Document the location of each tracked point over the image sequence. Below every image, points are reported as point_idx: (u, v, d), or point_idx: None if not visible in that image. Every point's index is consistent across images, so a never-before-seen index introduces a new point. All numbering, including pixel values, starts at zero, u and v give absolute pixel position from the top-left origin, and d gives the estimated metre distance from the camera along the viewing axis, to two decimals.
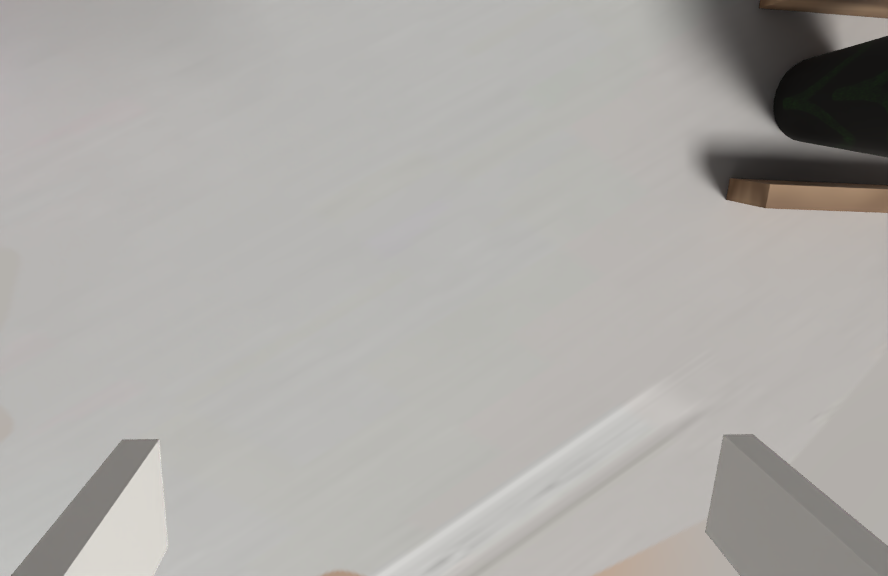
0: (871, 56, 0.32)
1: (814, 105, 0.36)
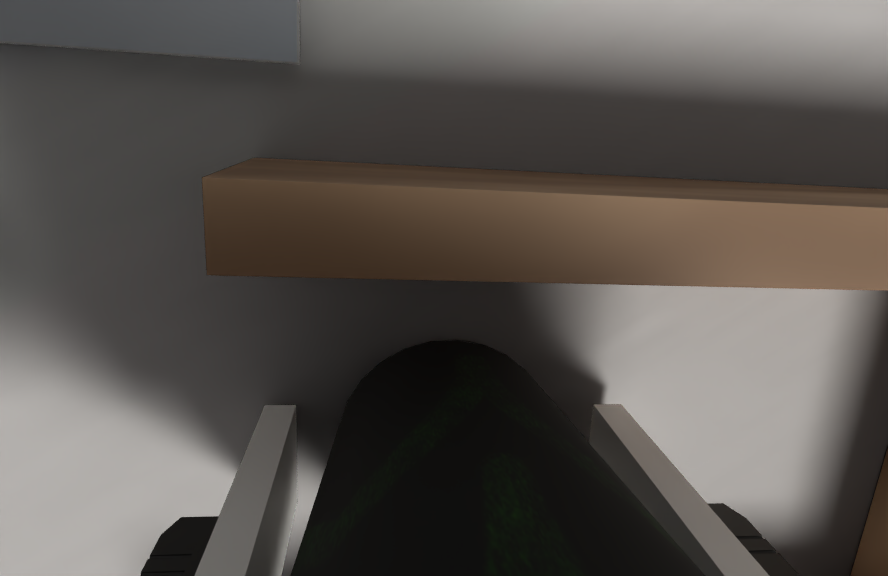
0: None
1: None
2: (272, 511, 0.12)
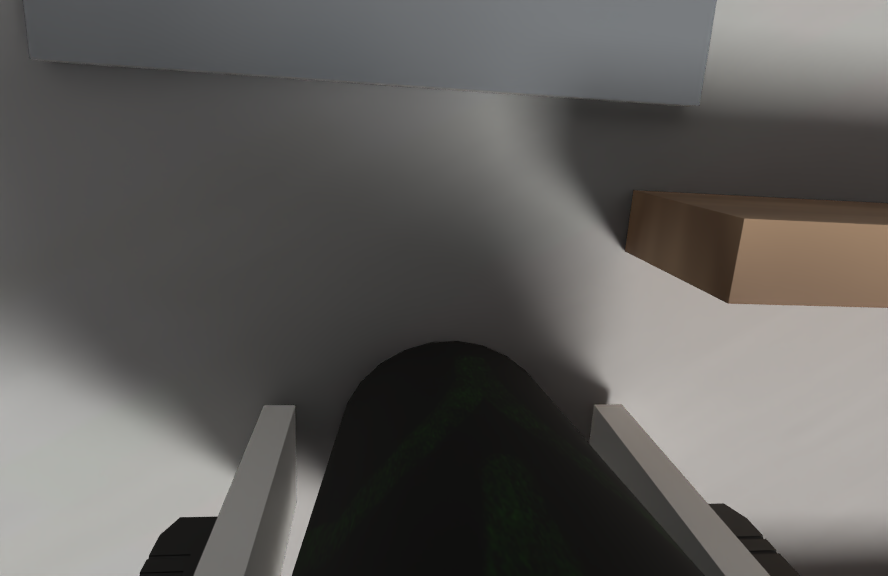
0: None
1: None
2: (271, 511, 0.12)
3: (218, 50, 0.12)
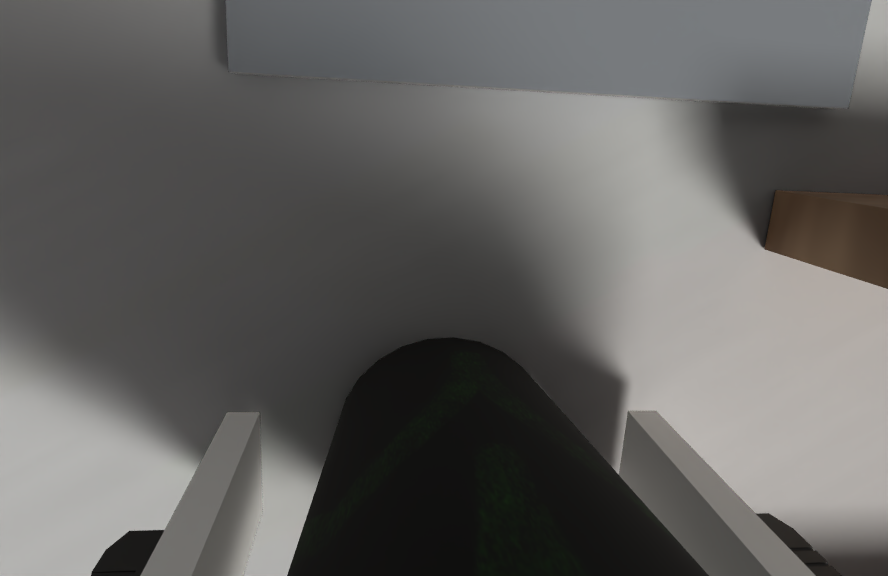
0: None
1: None
2: (225, 524, 0.11)
3: (402, 61, 0.13)
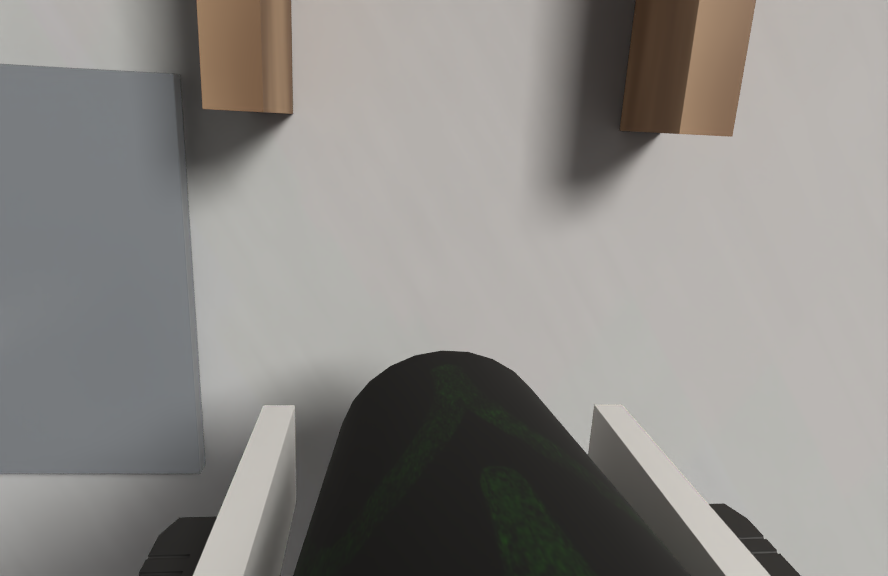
0: None
1: None
2: (271, 511, 0.11)
3: (182, 384, 0.21)
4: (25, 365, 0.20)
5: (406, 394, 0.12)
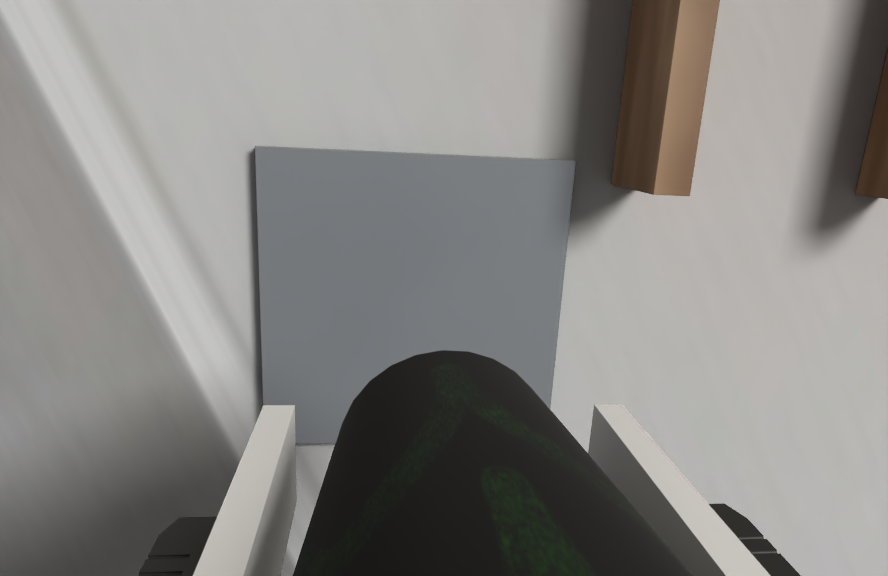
0: None
1: None
2: (271, 512, 0.11)
3: (545, 375, 0.29)
4: None
5: (406, 393, 0.12)
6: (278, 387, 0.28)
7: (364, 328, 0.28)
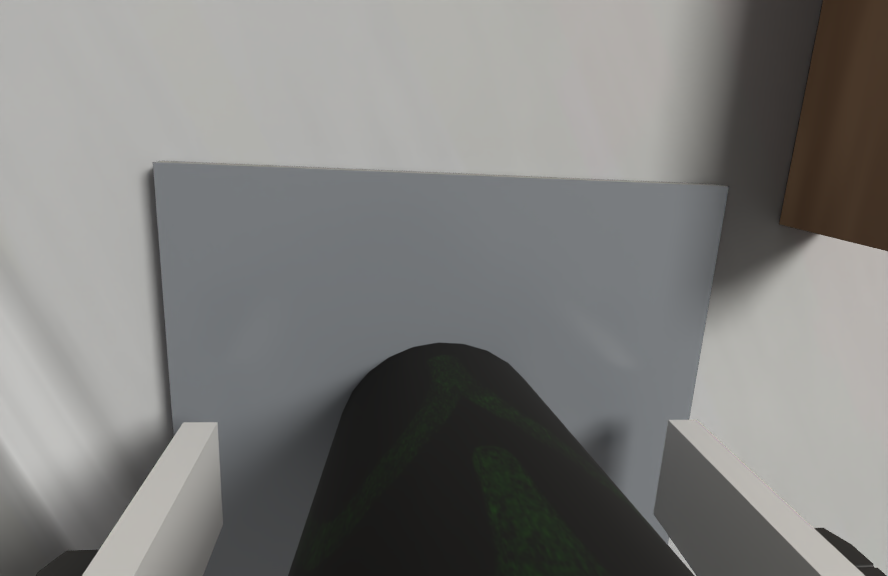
0: None
1: None
2: (168, 543, 0.10)
3: None
4: None
5: (404, 382, 0.13)
6: (211, 568, 0.17)
7: None
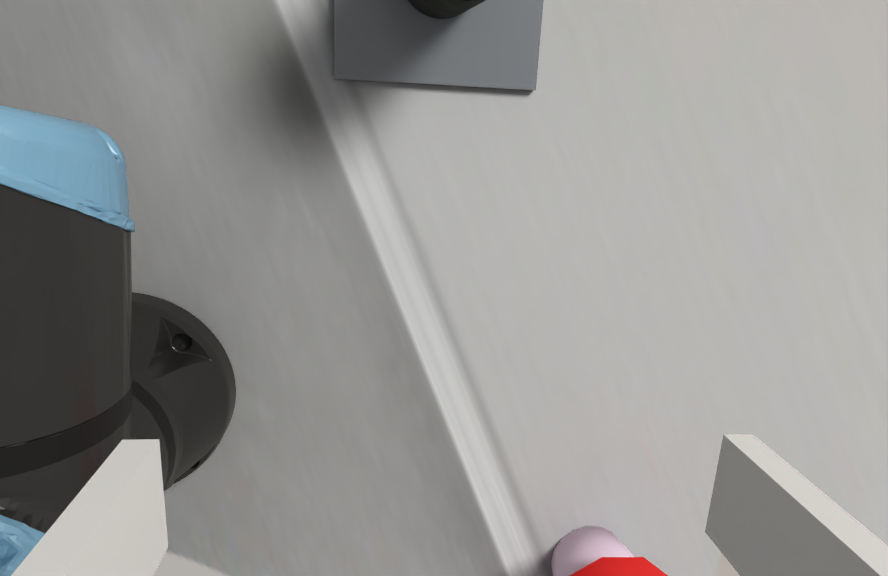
0: None
1: (456, 12, 0.36)
2: None
3: (534, 34, 0.41)
4: (460, 19, 0.40)
5: None
6: (345, 31, 0.40)
7: None
